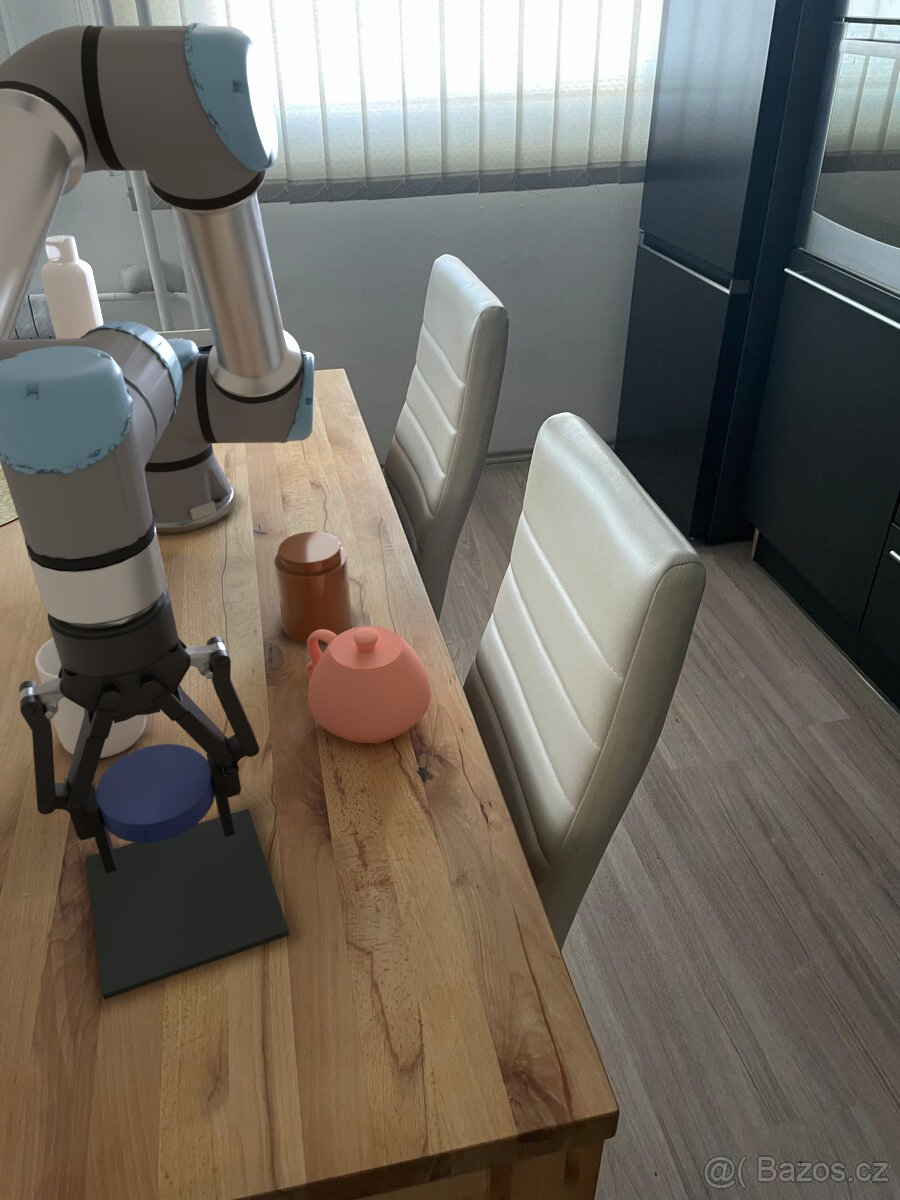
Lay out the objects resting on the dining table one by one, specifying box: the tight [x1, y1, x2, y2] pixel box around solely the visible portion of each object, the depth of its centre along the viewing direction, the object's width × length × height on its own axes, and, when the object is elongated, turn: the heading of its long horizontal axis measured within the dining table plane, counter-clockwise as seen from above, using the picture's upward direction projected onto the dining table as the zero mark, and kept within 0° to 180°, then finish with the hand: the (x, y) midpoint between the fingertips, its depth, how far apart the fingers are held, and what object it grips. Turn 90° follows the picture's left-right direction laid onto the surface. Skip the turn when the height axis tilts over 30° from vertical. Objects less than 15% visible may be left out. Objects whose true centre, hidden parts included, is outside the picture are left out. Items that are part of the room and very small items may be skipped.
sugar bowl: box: [305, 625, 432, 744], centre depth 91 cm, size 12×14×10 cm
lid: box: [95, 743, 215, 843], centre depth 68 cm, size 8×8×2 cm
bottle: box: [40, 234, 104, 339], centre depth 157 cm, size 8×8×28 cm
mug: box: [34, 637, 162, 759], centre depth 89 cm, size 12×8×10 cm
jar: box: [274, 531, 353, 645], centre depth 104 cm, size 8×8×10 cm
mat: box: [85, 808, 290, 1000], centre depth 75 cm, size 14×14×1 cm
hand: (169, 840), depth 71 cm, fingers closed on lid, 8 cm apart
